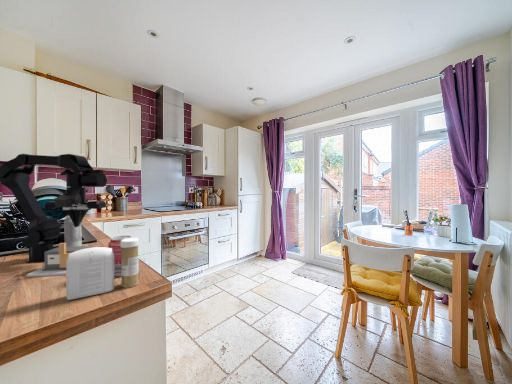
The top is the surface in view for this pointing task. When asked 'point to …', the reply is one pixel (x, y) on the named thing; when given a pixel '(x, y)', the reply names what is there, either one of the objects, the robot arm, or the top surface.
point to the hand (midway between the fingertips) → (76, 226)
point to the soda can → (117, 253)
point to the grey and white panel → (54, 262)
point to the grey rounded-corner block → (89, 272)
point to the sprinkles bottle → (129, 262)
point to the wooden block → (63, 255)
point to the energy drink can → (72, 233)
